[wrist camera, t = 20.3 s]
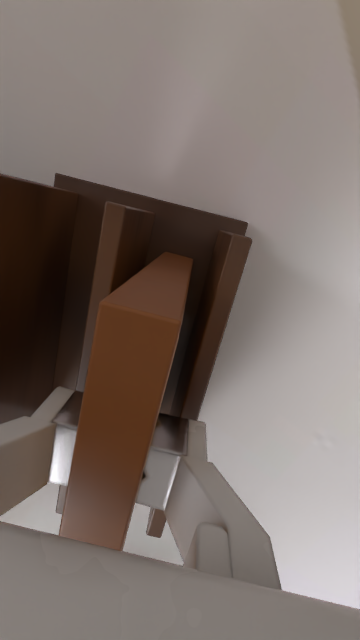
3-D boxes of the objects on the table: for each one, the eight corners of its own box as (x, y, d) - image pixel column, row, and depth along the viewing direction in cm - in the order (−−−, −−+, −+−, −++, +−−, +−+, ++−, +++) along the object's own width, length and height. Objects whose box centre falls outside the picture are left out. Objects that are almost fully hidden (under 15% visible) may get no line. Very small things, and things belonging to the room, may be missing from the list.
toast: (164, 251, 15) (97, 300, 5) (194, 259, 15) (183, 322, 5) (127, 411, 17) (37, 643, 8) (152, 418, 17) (94, 656, 8)
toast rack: (62, 175, 15) (-46, 137, 8) (246, 222, 15) (281, 222, 8) (35, 403, 19) (-53, 499, 12) (181, 439, 19) (172, 553, 12)
